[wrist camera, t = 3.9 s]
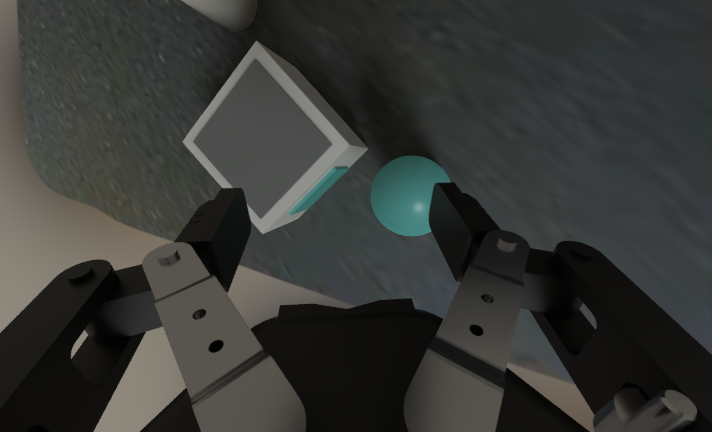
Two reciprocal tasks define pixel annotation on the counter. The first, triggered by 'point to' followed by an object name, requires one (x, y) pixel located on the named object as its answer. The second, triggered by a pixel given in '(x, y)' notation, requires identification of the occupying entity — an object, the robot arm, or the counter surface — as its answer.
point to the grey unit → (273, 139)
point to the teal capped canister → (406, 194)
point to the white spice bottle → (227, 12)
